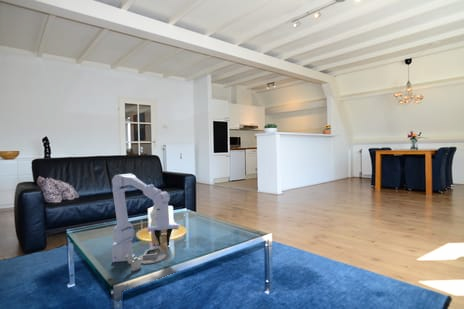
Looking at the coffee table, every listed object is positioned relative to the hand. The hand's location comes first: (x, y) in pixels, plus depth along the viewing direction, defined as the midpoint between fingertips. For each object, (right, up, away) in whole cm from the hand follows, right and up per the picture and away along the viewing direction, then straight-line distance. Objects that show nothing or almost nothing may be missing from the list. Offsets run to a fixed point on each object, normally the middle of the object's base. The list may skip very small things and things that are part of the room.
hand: (164, 245), depth 134 cm
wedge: (0, -2, 0) cm, 2 cm away
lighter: (-13, -10, -6) cm, 17 cm away
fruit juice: (-8, -10, +25) cm, 28 cm away
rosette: (-8, -10, +8) cm, 15 cm away
